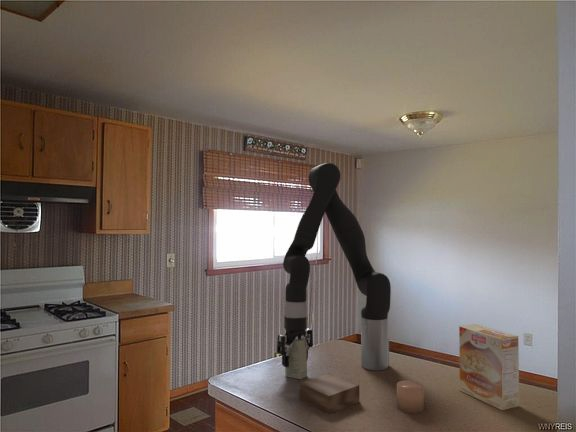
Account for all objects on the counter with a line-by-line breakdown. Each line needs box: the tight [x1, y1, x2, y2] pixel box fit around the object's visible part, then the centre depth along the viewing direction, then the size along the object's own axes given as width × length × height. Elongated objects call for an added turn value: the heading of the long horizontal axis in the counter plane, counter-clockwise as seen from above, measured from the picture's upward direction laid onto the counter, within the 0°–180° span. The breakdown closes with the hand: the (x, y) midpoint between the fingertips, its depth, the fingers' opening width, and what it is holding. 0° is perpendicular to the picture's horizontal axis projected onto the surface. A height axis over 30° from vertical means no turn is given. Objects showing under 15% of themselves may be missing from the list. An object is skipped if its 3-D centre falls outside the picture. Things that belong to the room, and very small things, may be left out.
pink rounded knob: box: [396, 380, 425, 414], centre depth 113 cm, size 7×7×6 cm
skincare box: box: [284, 339, 308, 380], centre depth 136 cm, size 6×4×12 cm
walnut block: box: [299, 372, 360, 415], centre depth 117 cm, size 12×12×5 cm
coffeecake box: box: [458, 323, 520, 411], centre depth 119 cm, size 15×7×20 cm, turn 23°
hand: (295, 363), depth 136 cm, fingers open, 8 cm apart
